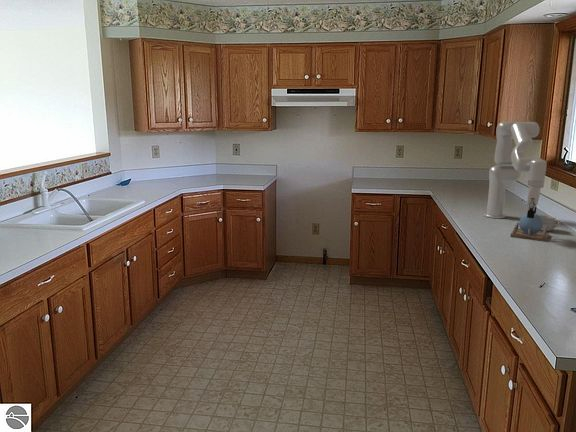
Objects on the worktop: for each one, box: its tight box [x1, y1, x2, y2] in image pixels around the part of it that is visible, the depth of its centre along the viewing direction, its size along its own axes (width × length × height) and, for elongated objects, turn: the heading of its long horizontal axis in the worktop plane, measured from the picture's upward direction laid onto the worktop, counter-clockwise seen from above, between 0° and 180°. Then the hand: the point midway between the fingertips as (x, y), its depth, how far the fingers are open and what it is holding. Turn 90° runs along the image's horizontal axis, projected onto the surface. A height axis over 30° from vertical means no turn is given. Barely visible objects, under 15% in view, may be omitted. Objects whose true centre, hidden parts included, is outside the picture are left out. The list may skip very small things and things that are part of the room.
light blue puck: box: [518, 212, 543, 236], centre depth 255 cm, size 2×11×12 cm, turn 59°
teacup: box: [538, 214, 561, 232], centre depth 269 cm, size 14×11×8 cm
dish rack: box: [510, 222, 550, 242], centre depth 258 cm, size 15×17×5 cm
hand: (531, 216), depth 254 cm, fingers open, 9 cm apart
